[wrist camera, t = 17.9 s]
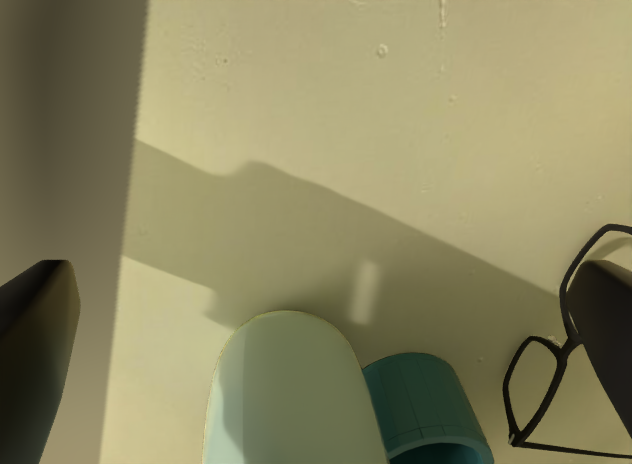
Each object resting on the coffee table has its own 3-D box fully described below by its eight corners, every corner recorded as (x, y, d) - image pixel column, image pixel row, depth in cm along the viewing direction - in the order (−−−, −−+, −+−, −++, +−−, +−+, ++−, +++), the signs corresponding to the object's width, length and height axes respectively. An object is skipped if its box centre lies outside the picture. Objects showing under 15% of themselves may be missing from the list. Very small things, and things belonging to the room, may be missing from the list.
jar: (319, 395, 30) (333, 483, 26) (419, 333, 28) (453, 416, 24) (384, 443, 34) (407, 527, 29) (476, 391, 32) (515, 472, 27)
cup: (225, 275, 24) (217, 468, 16) (372, 298, 26) (432, 480, 18) (198, 382, 28) (181, 581, 20) (328, 394, 30) (361, 580, 22)
